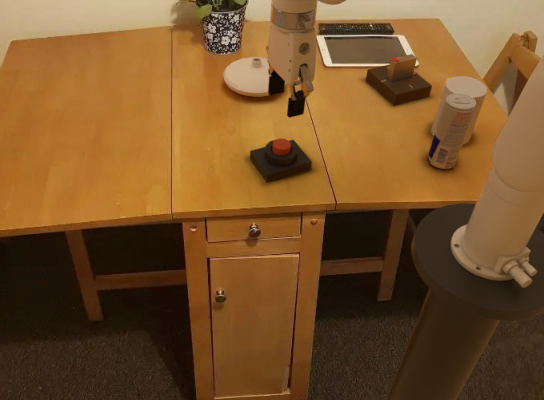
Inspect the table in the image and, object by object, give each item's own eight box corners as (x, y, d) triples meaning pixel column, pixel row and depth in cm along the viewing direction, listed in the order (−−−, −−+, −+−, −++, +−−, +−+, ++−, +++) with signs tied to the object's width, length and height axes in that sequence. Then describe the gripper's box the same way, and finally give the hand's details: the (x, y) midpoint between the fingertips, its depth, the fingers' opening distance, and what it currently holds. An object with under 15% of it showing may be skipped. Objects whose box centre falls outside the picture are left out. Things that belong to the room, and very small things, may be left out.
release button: (285, 143, 118) (285, 136, 117) (293, 153, 116) (294, 146, 115) (269, 147, 117) (269, 140, 116) (277, 158, 115) (277, 151, 114)
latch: (407, 72, 140) (412, 52, 136) (412, 76, 138) (417, 56, 135) (386, 77, 138) (390, 57, 134) (391, 81, 137) (395, 61, 133)
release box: (292, 147, 123) (294, 132, 120) (311, 170, 118) (313, 154, 115) (249, 159, 120) (250, 143, 118) (266, 182, 115) (267, 167, 112)
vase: (280, 67, 147) (282, 41, 142) (294, 101, 136) (297, 75, 131) (219, 71, 146) (219, 45, 141) (228, 106, 134) (228, 80, 129)
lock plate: (429, 96, 138) (432, 84, 135) (393, 105, 135) (396, 94, 132) (399, 71, 146) (402, 60, 143) (365, 80, 143) (367, 68, 141)
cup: (465, 149, 123) (482, 101, 114) (426, 138, 126) (441, 90, 117) (473, 129, 128) (490, 82, 120) (436, 119, 131) (451, 72, 123)
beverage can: (460, 162, 120) (482, 100, 109) (446, 174, 117) (467, 112, 107) (436, 149, 123) (455, 88, 112) (421, 161, 120) (440, 100, 109)
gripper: (339, 33, 92) (326, 124, 104) (289, -10, 104) (282, 77, 116) (297, 41, 90) (288, 134, 102) (251, -3, 102) (248, 85, 114)
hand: (285, 103), depth 109 cm, fingers open, 7 cm apart
